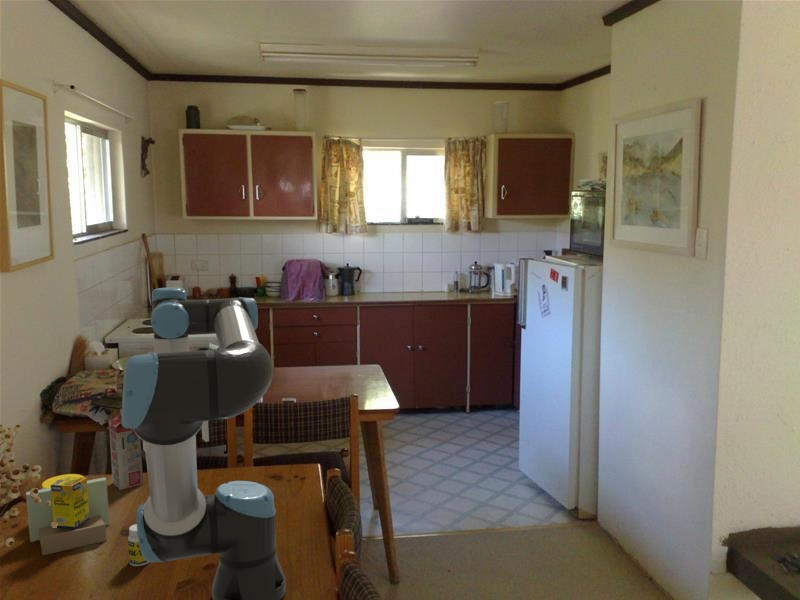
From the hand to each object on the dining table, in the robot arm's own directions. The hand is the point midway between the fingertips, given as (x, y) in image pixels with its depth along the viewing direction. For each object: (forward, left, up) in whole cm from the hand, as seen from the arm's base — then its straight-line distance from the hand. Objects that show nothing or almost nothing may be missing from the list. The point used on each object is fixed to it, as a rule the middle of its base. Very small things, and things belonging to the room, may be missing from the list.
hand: (176, 445), depth 163 cm
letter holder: (+20, +21, -26) cm, 39 cm away
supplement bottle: (0, +9, -26) cm, 28 cm away
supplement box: (+19, +21, -22) cm, 36 cm away
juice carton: (+50, +3, -26) cm, 56 cm away
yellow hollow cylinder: (+36, +21, -26) cm, 49 cm away
